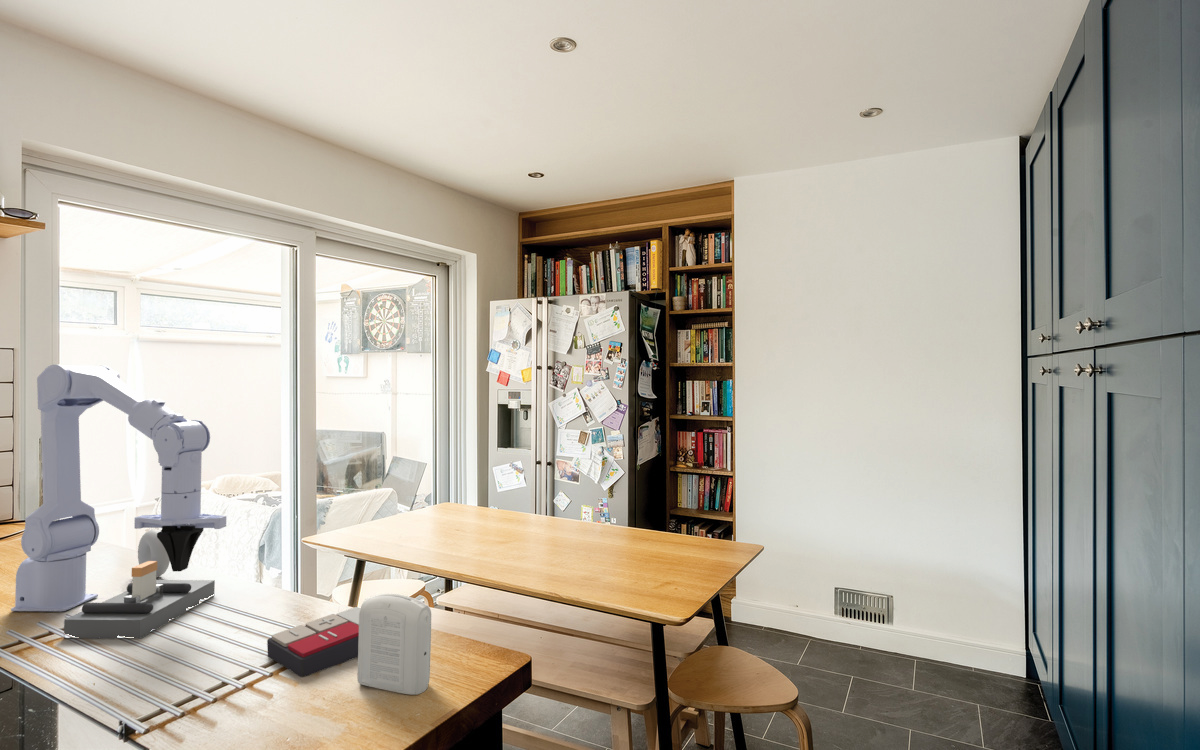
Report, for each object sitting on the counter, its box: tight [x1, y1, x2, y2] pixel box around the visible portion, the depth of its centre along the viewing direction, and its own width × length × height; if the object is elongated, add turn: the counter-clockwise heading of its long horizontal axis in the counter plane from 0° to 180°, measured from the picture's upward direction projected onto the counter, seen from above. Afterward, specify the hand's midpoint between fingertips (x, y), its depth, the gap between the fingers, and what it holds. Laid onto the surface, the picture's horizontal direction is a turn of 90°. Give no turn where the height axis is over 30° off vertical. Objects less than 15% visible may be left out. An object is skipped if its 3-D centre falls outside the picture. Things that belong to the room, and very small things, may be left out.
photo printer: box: [356, 593, 432, 696], centre depth 86 cm, size 10×4×12 cm, turn 72°
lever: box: [131, 561, 157, 602], centre depth 108 cm, size 2×4×6 cm, turn 1°
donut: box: [137, 528, 171, 579], centre depth 131 cm, size 10×4×10 cm, turn 55°
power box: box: [63, 579, 216, 640], centre depth 110 cm, size 12×20×5 cm, turn 1°
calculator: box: [266, 606, 361, 678], centre depth 97 cm, size 11×4×15 cm
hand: (180, 569), depth 108 cm, fingers closed
